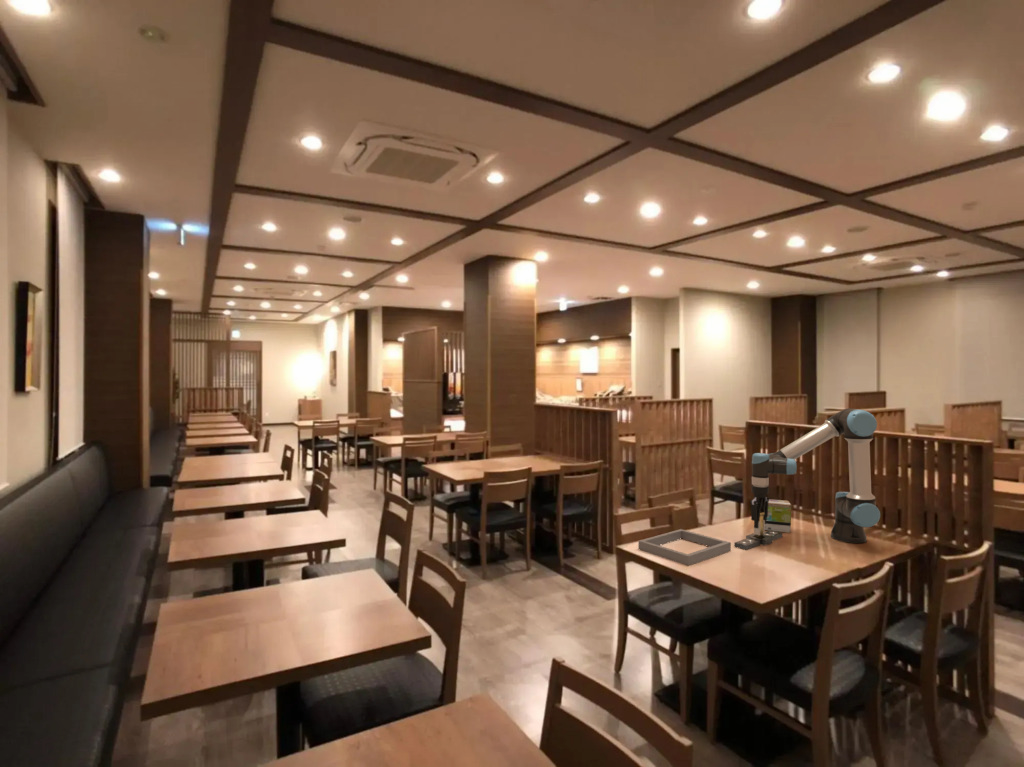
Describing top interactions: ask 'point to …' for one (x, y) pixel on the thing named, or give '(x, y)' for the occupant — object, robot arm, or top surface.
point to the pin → (760, 525)
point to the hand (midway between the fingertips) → (759, 533)
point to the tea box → (778, 516)
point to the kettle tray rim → (688, 559)
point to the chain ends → (758, 540)
